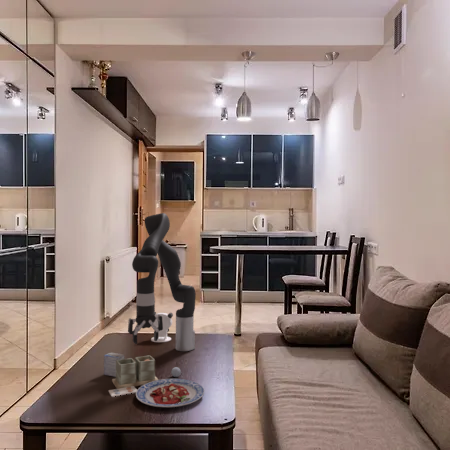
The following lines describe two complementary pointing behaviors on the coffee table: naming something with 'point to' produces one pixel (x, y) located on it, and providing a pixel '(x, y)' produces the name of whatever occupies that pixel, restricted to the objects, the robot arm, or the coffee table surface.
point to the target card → (122, 391)
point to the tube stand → (134, 372)
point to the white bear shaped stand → (166, 324)
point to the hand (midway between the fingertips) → (145, 342)
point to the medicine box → (111, 363)
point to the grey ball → (175, 372)
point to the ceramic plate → (169, 392)
